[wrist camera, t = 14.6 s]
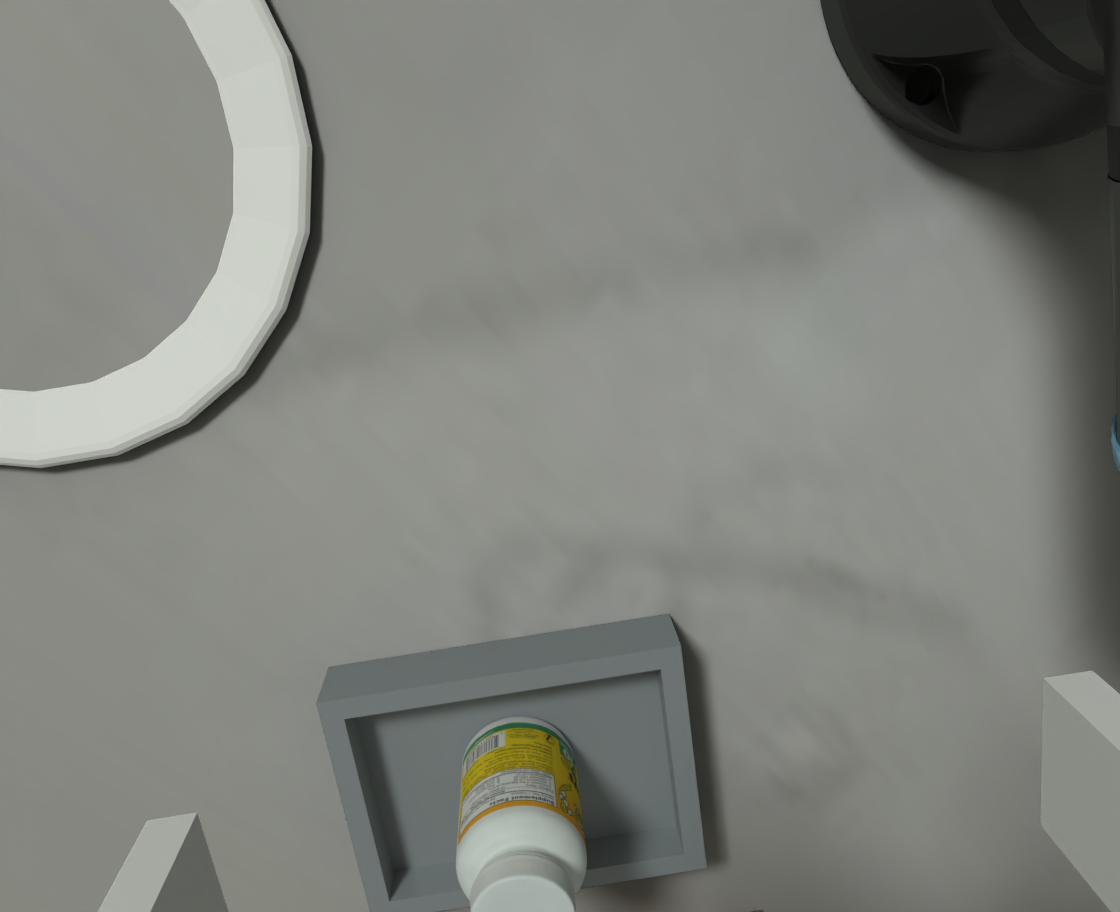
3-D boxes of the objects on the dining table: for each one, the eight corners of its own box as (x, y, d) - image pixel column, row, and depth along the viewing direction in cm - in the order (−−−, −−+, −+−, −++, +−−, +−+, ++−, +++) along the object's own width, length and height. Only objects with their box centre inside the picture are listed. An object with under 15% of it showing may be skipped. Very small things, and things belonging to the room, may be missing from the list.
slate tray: (669, 613, 43) (681, 645, 40) (694, 825, 47) (706, 868, 44) (328, 667, 43) (316, 703, 40) (380, 875, 47) (372, 921, 44)
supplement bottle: (468, 707, 43) (459, 854, 34) (582, 717, 43) (604, 864, 34) (456, 805, 44) (444, 970, 35) (567, 813, 45) (583, 978, 36)
